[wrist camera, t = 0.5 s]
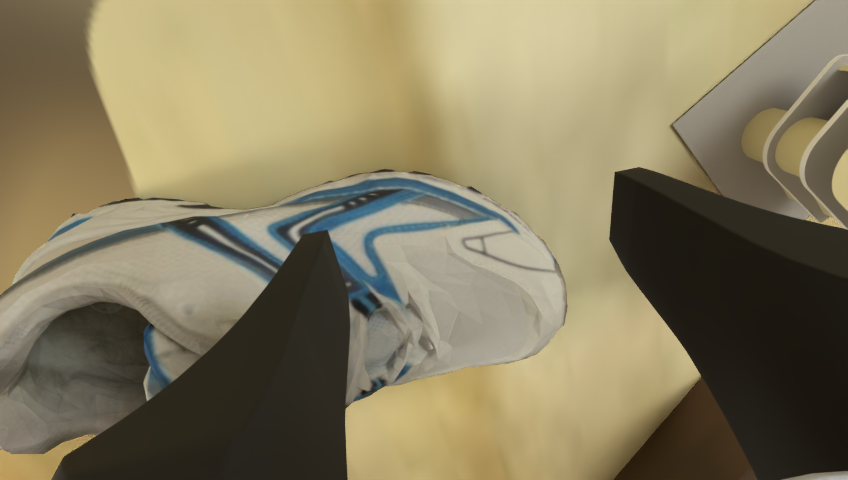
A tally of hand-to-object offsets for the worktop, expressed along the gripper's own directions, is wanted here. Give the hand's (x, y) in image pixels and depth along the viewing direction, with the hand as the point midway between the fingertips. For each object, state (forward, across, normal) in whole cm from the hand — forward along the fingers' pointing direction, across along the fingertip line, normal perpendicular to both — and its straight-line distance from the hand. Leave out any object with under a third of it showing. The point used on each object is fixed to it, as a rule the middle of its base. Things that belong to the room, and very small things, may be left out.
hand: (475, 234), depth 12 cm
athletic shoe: (+10, +7, +7) cm, 14 cm away
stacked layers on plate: (+10, -18, +5) cm, 21 cm away
